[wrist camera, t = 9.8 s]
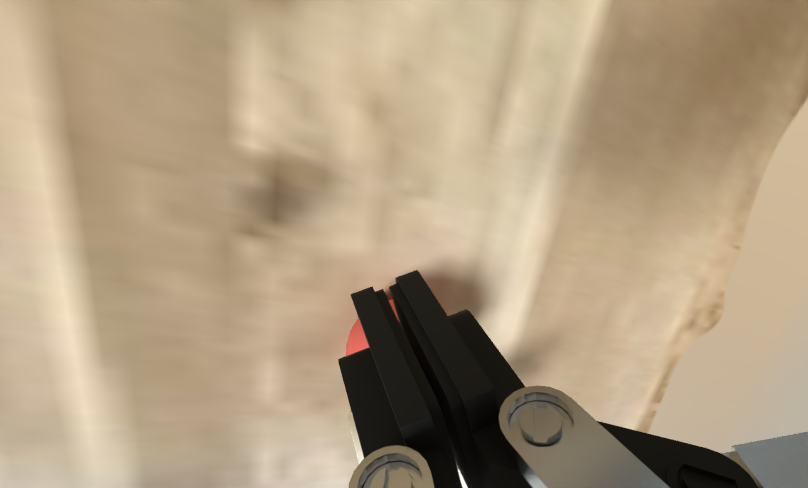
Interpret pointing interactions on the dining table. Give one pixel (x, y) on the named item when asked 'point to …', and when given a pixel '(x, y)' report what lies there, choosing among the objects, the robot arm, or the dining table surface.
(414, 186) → the dining table surface
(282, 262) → the dining table surface
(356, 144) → the dining table surface
